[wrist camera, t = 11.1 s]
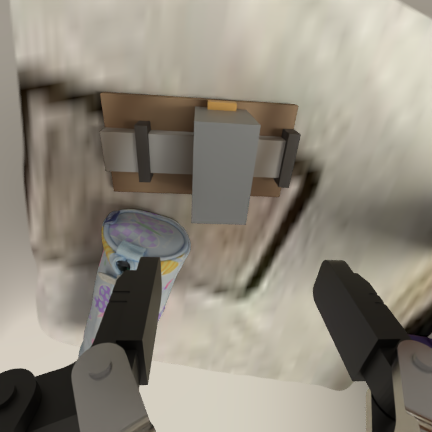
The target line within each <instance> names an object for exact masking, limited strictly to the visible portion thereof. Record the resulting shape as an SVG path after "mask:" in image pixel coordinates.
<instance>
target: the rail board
mask: <svg viewBox="0 0 432 432" xmlns="http://www.w3.org/2000/svg"><path fill="white" fill-rule="evenodd" d="M100 96H101V103H102V110H103V117H104V124H105V128H103V129H102V130H101V131H100V138H101V144H102V150H103V157H104V163H105V170H106V171H111V173H112V180H113V187H114V191H118V192H147V193H177V194H192V184H193V148H194V117H195V106H197V107H207V102H208V100H219V101H234V102H236V103H237V108H236V109H243V110H247V111H248V112H249V113H250V114H251V115H252V116H253V117H254V119H255V120H256V121H257V122H258V123H259V124H260V125H261V127H260V134H259V141H258V147H257V154H256V160H255V167H254V174H253V180H252V187H251V193H250V196H265V197H279V196H280V191H281V187H283V188H289V184H290V180H291V175H292V171H293V167H294V162H295V158H296V153H297V149H298V144H299V140H300V136H301V134H299V133H298V132H297V131H295V130H294V125H295V120H296V115H297V110H298V106H297V105H295V104H282V103H266V102H251V101H235V100H220V99H204V98H189V97H173V96H158V95H142V94H127V93H111V92H102V93H100Z"/></svg>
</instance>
